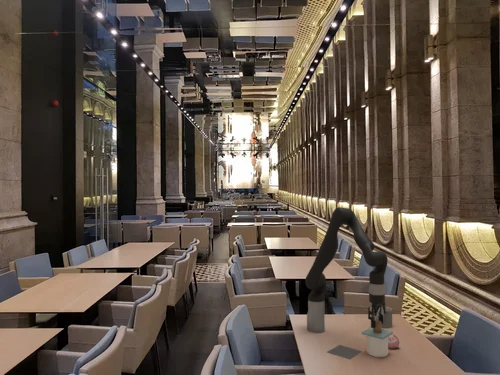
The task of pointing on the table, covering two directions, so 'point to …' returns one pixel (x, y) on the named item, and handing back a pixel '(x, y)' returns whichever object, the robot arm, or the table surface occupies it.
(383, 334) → the lid
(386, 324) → the coffee mug
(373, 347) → the cup
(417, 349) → the table surface
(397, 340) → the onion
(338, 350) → the mat
